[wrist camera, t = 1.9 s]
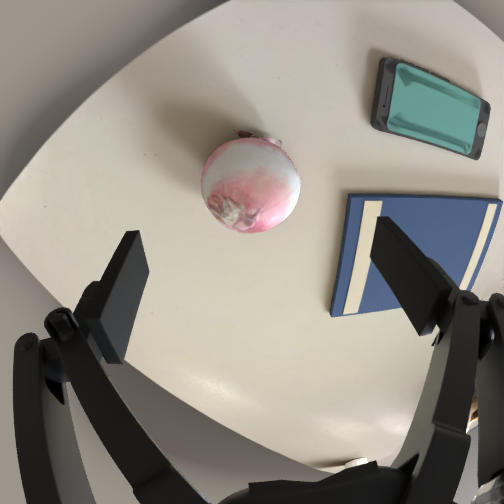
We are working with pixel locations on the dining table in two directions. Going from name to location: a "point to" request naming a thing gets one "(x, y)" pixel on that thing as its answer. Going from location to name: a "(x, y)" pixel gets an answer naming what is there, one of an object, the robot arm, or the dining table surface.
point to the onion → (250, 183)
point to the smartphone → (429, 109)
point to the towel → (421, 233)
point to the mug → (355, 462)
